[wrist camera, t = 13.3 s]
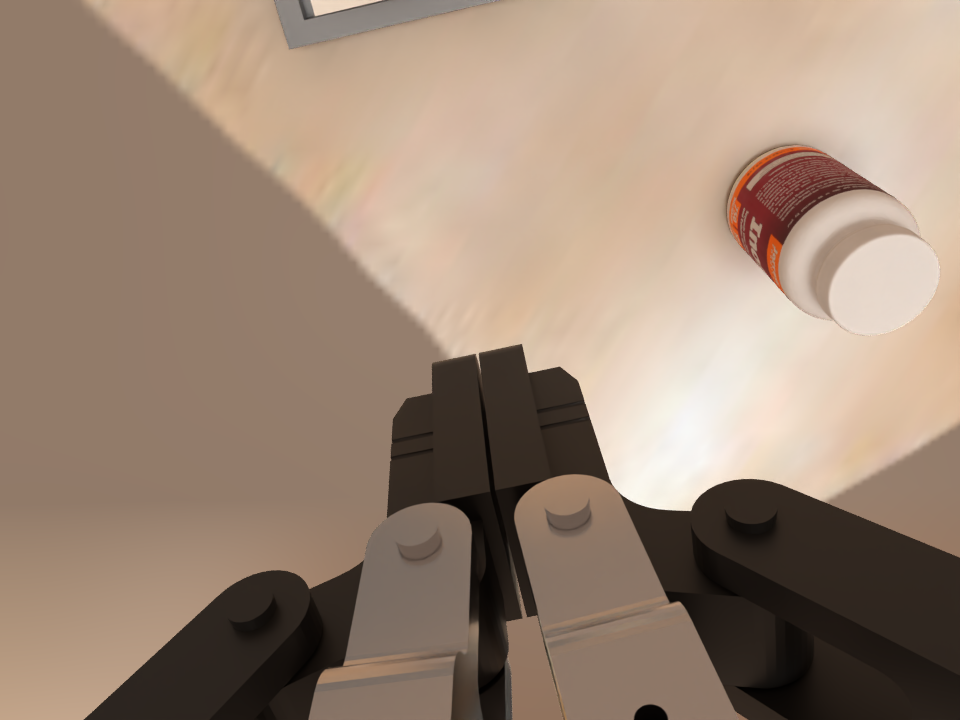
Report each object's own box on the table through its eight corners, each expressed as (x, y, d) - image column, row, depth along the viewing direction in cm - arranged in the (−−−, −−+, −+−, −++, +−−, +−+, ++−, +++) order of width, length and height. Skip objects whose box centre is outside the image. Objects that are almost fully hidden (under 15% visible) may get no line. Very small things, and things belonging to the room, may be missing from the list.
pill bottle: (700, 197, 42) (781, 284, 33) (800, 116, 40) (917, 182, 31) (762, 276, 45) (854, 377, 35) (859, 202, 43) (984, 288, 33)
